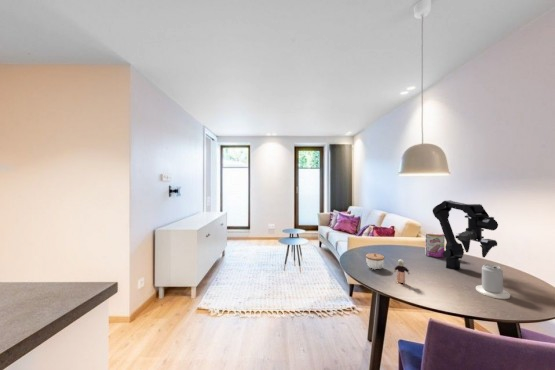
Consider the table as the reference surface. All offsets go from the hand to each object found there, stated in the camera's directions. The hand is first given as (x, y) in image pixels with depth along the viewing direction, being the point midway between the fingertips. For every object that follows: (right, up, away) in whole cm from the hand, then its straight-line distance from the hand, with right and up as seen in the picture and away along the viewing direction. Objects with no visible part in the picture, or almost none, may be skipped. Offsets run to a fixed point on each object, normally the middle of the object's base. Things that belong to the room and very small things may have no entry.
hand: (475, 254), depth 126 cm
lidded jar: (-48, -14, +17) cm, 53 cm away
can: (-6, -12, -17) cm, 22 cm away
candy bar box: (+4, -13, +38) cm, 40 cm away
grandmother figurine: (-43, -14, -4) cm, 46 cm away
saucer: (-6, -13, -17) cm, 22 cm away
